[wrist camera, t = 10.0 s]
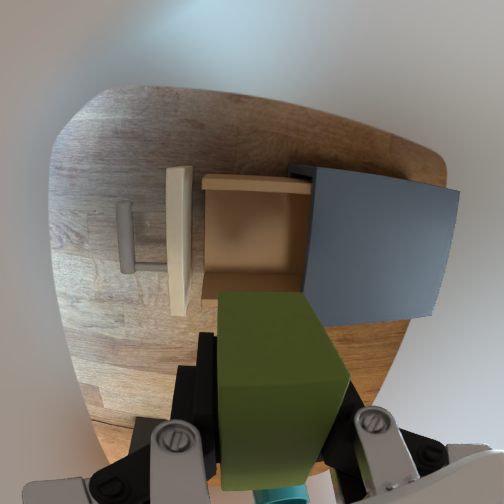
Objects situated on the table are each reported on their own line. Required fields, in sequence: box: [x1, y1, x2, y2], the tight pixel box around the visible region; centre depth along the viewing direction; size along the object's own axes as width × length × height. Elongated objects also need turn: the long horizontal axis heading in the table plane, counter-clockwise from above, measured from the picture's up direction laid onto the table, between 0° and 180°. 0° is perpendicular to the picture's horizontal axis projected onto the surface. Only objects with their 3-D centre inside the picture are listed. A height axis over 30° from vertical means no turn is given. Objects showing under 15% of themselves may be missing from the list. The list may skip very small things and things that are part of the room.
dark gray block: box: [128, 417, 167, 455], centre depth 33 cm, size 7×5×9 cm
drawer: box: [116, 166, 312, 316], centre depth 24 cm, size 18×11×7 cm, turn 87°
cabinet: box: [287, 164, 460, 327], centre depth 25 cm, size 15×13×9 cm
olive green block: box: [217, 292, 351, 491], centre depth 9 cm, size 6×3×4 cm, turn 176°
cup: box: [252, 484, 310, 504], centre depth 37 cm, size 9×12×11 cm
